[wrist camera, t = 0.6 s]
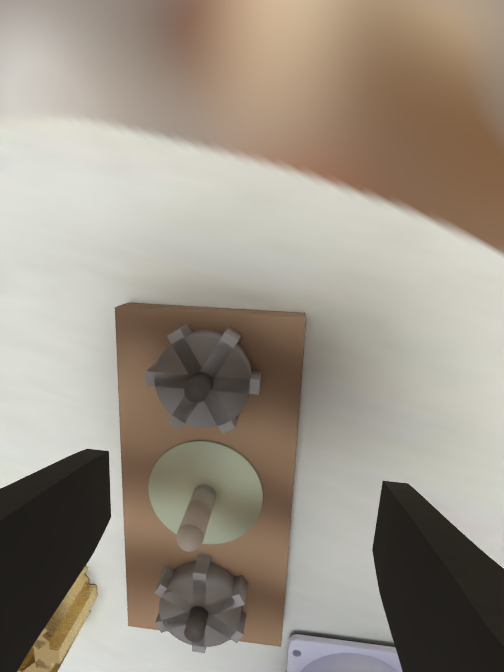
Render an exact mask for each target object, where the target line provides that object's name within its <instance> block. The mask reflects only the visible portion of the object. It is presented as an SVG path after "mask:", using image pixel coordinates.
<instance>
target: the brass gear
mask: <svg viewBox="0 0 504 672" xmlns="http://www.w3.org/2000/svg"><path fill="white" fill-rule="evenodd" d="M86 570H87V567H86V566H85V567H84V569H83V570H82V572H81V573H80V575H79V576H78V578H77V579H76V581H75V583H74V584H73V586H72V587H71V589H70V590H69V592H68V593H67V595H66V596H65V598H64V599H63V601H62V602H61V604H60V605H59V607H58V608H57V610H56V611H55V613H54V614H53V616H52V617H51V619H50V620H49V622H48V623H47V625H46V626H45V628H44V629H43V631H42V632H41V634H40V636H39V637H38V639H37V640H36V642H35V643H34V645H33V646H32V648H31V649H30V651H29V653H28V654H27V656H26V658H25V659H24V661H23V663H22V664H21V666H20V667H19V669H18V671H17V672H57V671H58V669H59V668H60V666H61V664H62V662H63V660H64V658H65V657H66V655H67V653H68V651H69V649H70V648H71V646H72V644H73V642H74V640H75V639H76V637H77V635H78V633H79V631H80V629H81V628H82V626H83V624H84V622H85V620H86V619H87V617H88V615H89V613H90V609H91V607H92V605H93V603H94V601H95V600H96V598H97V589H96V585H90V584H89V582H88V577H87V576H86V575H85V574H84V573H85V571H86Z"/></svg>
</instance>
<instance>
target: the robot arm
mask: <svg viewBox="0 0 504 672" xmlns="http://www.w3.org/2000/svg"><path fill="white" fill-rule="evenodd" d="M110 518H111V504H110V474H109V451H102V450H93V449H86V450H83V451H80V452H78V453H75V454H73V455H71V456H69V457H66V458H64V459H62V460H60V461H58V462H56V463H54V464H52V465H50V466H48V467H45V468H43V469H41V470H39V471H37V472H35V473H33V474H31V475H29V476H27V477H25V478H23V479H20V480H18V481H16V482H14V483H12V484H10V485H8V486H6V487H3V488H1V489H0V672H17V671H18V669H19V667H20V666H21V664H22V663H23V661H24V659H25V658H26V656H27V654H28V653H29V651H30V649H31V648H32V646H33V645H34V643H35V642H36V640H37V639H38V637H39V636H40V634H41V632H42V631H43V629H44V628H45V626H46V625H47V623H48V622H49V620H50V619H51V617H52V616H53V614H54V613H55V611H56V610H57V608H58V607H59V605H60V604H61V602H62V601H63V599H64V598H65V596H66V595H67V593H68V592H69V590H70V589H71V587H72V586H73V584H74V583H75V581H76V579H77V578H78V576H79V575H80V573H81V572H82V570H83V569H84V567H85V566H86V564H87V562H88V561H89V559H90V558H91V556H92V555H93V553H94V551H95V549H96V547H97V545H98V543H99V541H100V539H101V537H102V535H103V533H104V531H105V529H106V527H107V525H108V522H109V520H110ZM372 550H373V556H374V562H375V569H376V575H377V580H378V586H379V591H380V595H381V599H382V603H383V606H384V610H385V613H386V617H387V620H388V624H389V627H390V631H391V634H392V637H393V641H394V644H395V647H390V646H383V645H375V644H368V643H360V642H353V641H345V640H338V639H330V638H322V637H315V636H307V635H300V634H294V635H292V636H291V637H290V638H289V645H288V657H287V669H286V672H504V569H503V568H502V567H501V566H500V565H498V564H497V563H496V562H495V561H494V560H492V559H491V558H490V557H489V556H488V555H486V554H485V553H484V552H483V551H482V550H481V549H479V548H478V547H477V546H476V545H475V544H474V543H473V542H471V541H470V540H469V539H468V538H467V537H466V536H465V535H464V534H462V533H461V532H460V531H459V530H458V529H457V528H456V527H455V526H454V525H453V524H451V523H450V522H449V521H448V520H447V519H446V518H445V517H444V516H443V515H442V514H441V513H440V512H439V511H438V510H436V509H435V508H434V507H433V506H432V505H431V504H430V503H429V502H428V501H427V500H426V499H425V498H424V497H423V496H421V495H420V494H419V493H418V492H417V491H416V490H415V489H414V488H413V487H411V486H410V485H409V484H407V483H398V482H388V481H383V484H382V490H381V497H380V503H379V510H378V517H377V523H376V530H375V536H374V543H373V549H372Z"/></svg>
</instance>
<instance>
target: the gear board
mask: <svg viewBox="0 0 504 672" xmlns="http://www.w3.org/2000/svg"><path fill="white" fill-rule="evenodd" d="M115 320H116V344H117V368H118V392H119V416H120V439H121V463H122V487H123V511H124V534H125V558H126V582H127V606H128V626H132V627H140V628H147V629H154V630H160V631H161V633H162V632H165V631H169V632H170V633H171V634H172V635H173V636H175V637H176V638H178V639H179V640H181V641H183V642H185V643H187V644H191V645H192V651H194V652H202V653H205V650H206V647H210V646H216V645H220V644H222V643H224V642H226V641H228V640H233V641H234V642H236V643H237V642H238V641H243V642H250V643H257V644H265V645H272V646H279V647H281V641H282V628H283V615H284V602H285V589H286V575H287V562H288V549H289V536H290V523H291V510H292V497H293V484H294V471H295V457H296V444H297V431H298V418H299V405H300V392H301V379H302V366H303V353H304V339H305V326H306V316H305V313H295V312H278V311H260V310H243V309H226V308H209V307H192V306H175V305H158V304H141V303H126V304H123V305H120V306H117V307H115Z"/></svg>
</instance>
